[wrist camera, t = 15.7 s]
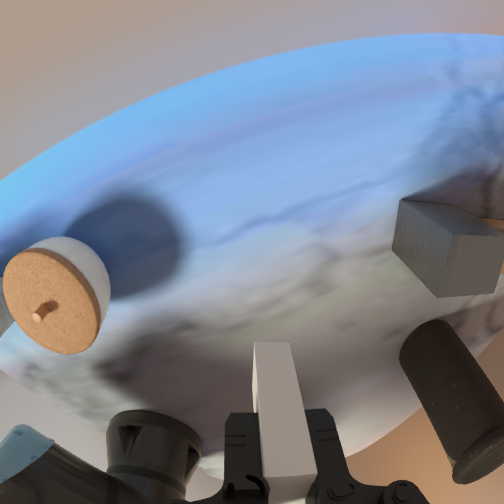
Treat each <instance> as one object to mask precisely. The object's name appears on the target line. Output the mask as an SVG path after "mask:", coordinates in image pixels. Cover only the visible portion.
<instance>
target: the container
mask: <svg viewBox="0 0 504 504" xmlns="http://www.w3.org/2000/svg"><path fill="white" fill-rule="evenodd" d="M399 360H400V364H401V366H402V368H403V370H404V372H405V374H406V376H407V377H408V379H409V381H410V383H411V385H412V386H413V388H414V390H415V392H416V394H417V396H418V398H419V400H420V401H421V403H422V405H423V407H424V409H425V411H426V412H427V415H428V417H429V419H430V421H431V423H432V425H433V427H434V429H435V431H436V433H437V435H438V437H439V439H440V441H441V443H442V445H443V448H444V450H445V452H446V454H447V457H448V459H449V461H450V463H451V466H452V468H453V470H452V471H453V474H452V478H453V481H454V482H455V483H457V484H469V483H472V482H474V481H476V480H478V479H480V478H482V477H484V476H486V475H487V474H489V473H491V472H492V471H493V470H495V469H497V468H498V467H499V466H500V465H502V464H503V463H504V402H503V401H502V399H501V398H500V396H499V394H498V393H497V391H496V390H495V388H494V387H493V385H492V384H491V382H490V381H489V379H488V378H487V376H486V375H485V373H484V372H483V370H482V369H481V367H480V366H479V365H478V363H477V362H476V360H475V359H474V357H473V356H472V355H471V353H470V352H469V350H468V349H467V348H466V346H465V345H464V343H463V342H462V341H461V339H460V338H459V337H458V335H457V334H456V333H455V331H454V330H453V329H452V328H451V326H450V325H449V324H448V323H447V322H445V321H442V320H435V321H430V322H428V323H425V324H423V325H422V326H420V327H418V328H417V329H416V330H415V331H414V332H413V333H412V334H411V335H410V336H409V337H408V338H407V339H406V341H405V342H404V344H403V346H402V348H401V351H400V357H399Z"/></svg>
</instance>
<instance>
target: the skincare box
mask: <svg viewBox="0 0 504 504" xmlns="http://www.w3.org/2000/svg"><path fill="white" fill-rule="evenodd" d="M14 321H15V320H14V318H13V316H12V315H11V313H10V311H9V309H8V306H7V303H6V300H5V297H4V292H3V277H0V337H1V336H2V335H3V334H4V332H5V331H6V330H7V329H8V328H9V327H10V326H11V324H12V323H13V322H14Z"/></svg>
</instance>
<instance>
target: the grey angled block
mask: <svg viewBox="0 0 504 504" xmlns="http://www.w3.org/2000/svg"><path fill="white" fill-rule="evenodd" d="M392 251H393V252H394V253H395V254H396V255H397V256H398V257H399V258H400V259H401V260H402V261H403V262H404V263H405V264H406V265H407V266H408V267H409V268H410V269H411V270H412V272H413V273H414V274H415V275H416V276H417V277H418V278H419V279H420V280H421V281H422V282H423V283H424V284H425V286H426V287H427V288H428V289H429V290H430V291H431V292H432V293H433V294H434V295H435V297H436V298H440V297H454V296H467V295H478V294H489V293H494V290H495V288H496V285H497V281H498V278H499V275H500V272H501V269H502V265H503V262H504V233H502V232H501V231H499V230H497V229H496V228H494V227H492V226H491V225H489V224H487V223H486V222H484V221H482V220H480V219H479V218H477V217H475V216H473V215H471V214H470V213H468V212H466V211H464V210H462V209H460V208H459V207H457V206H455V205H452V204H442V203H431V202H419V201H407V200H400V202H399V209H398V216H397V222H396V229H395V235H394V240H393V246H392Z"/></svg>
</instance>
